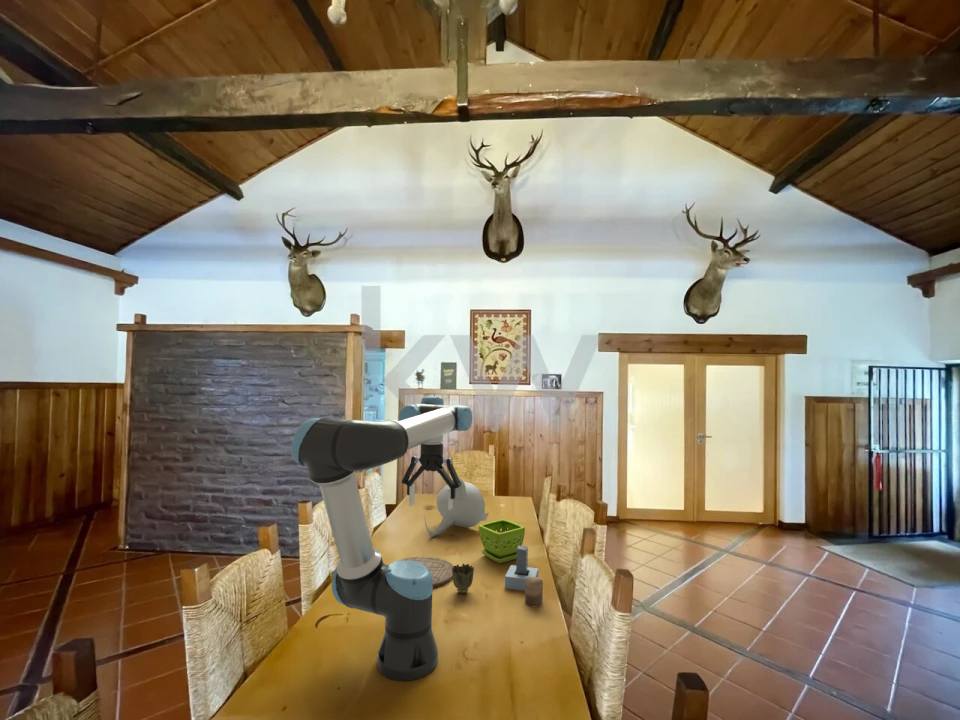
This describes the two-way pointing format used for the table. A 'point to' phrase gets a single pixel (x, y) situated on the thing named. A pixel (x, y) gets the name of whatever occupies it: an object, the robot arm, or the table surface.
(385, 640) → the robot arm
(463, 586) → the ornate candle holder
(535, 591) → the brown short cylinder
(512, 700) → the table surface
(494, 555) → the flower pot
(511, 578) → the bore block
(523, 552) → the square bit
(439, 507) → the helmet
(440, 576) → the trivet
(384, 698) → the table surface
